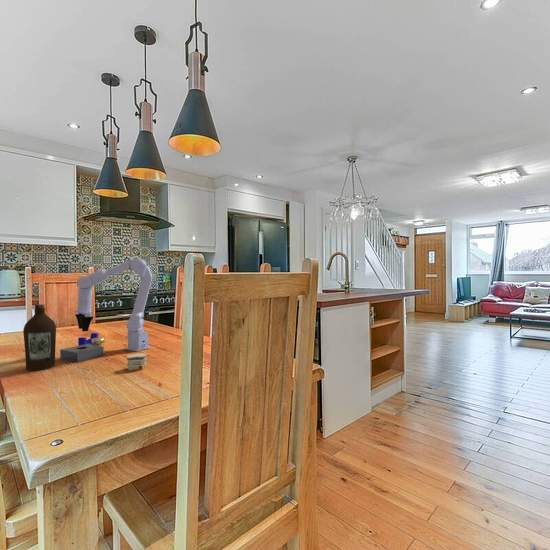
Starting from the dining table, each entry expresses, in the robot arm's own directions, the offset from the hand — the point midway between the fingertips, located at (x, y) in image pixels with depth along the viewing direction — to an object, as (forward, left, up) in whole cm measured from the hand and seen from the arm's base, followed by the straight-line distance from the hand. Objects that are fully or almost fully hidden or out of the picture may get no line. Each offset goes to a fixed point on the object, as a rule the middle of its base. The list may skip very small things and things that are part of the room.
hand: (83, 329), depth 155 cm
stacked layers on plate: (-46, +8, -11) cm, 47 cm away
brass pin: (-5, -4, -10) cm, 12 cm away
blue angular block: (+7, -6, -11) cm, 14 cm away
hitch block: (-10, +7, -10) cm, 15 cm away
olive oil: (-10, +24, -10) cm, 28 cm away
